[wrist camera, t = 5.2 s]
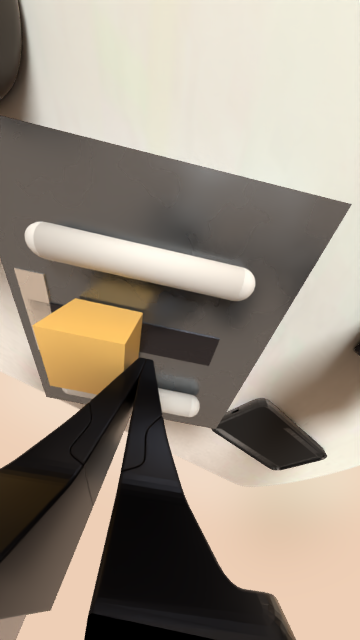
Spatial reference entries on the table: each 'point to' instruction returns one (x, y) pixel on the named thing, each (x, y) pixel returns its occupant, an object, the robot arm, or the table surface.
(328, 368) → the table surface
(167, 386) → the panel
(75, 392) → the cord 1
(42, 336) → the block
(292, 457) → the phone
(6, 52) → the supplement bottle
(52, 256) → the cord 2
